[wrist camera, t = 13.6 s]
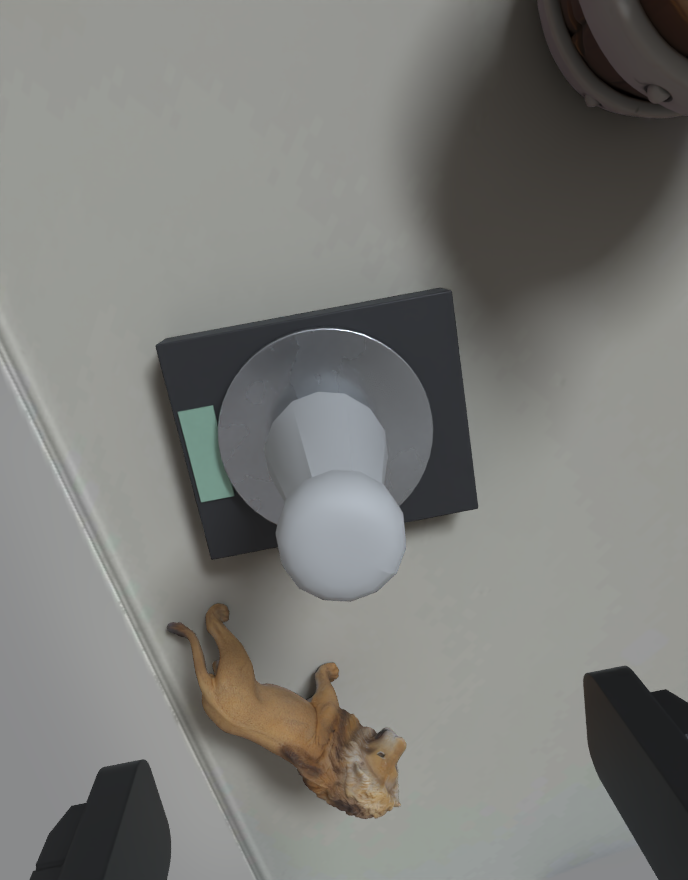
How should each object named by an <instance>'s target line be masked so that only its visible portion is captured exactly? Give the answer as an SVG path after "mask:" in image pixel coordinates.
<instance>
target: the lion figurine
mask: <svg viewBox="0 0 688 880" xmlns="http://www.w3.org/2000/svg"><path fill="white" fill-rule="evenodd" d="M205 618H206V627H207V631H208V632H209V633H210V634H211V635H212V636H213V638H214V639H215V641H216V643H217V646H218V649H219V653H220V659H219V660H216V661H214V662H213V664H212V667H213V671H214V675H213V674H209V673H208V672H207V669H206V664H205V659H204V655H203V652H202V648H201V645H200V643H199V640H198V638H197V636H196V634H195V633H194V632H193V631H192V630H190V629H189V628H188V627H186V626H185V625H184V624H182V623H181V622H178V623H175V622H172V623H169V624H168V626H167V630H168V631H169V632H171V633H174V634H177V635H179V636H181V637H185V638H187V639H188V640H189V641H190V644H191V648H192V653H193V660H194V667H195V672H196V676H197V679H198V683H199V686H200V689H201V692H202V705H203V708H204V711H205V712H206V714H207V715H208V716H209V718H210V719H211V720H212V721H213V722H214V723H215V724H216V725H217V726H218V727H219V728H220V729H221V730H223V731H224V732H226V733H229V734H233V735H236V736H240V737H243V738H246V739H248V740H251V741H253V742H255V743H257V744H259V745H260V746H262V747H264V748H265V749H267V750H269V751H270V752H272V753H274V754H276V755H278V756H280V757H282V758H283V759H285V760H287V761H288V762H290V763H291V764H293V765H294V766H295V767H296V768H297V770H298V772H299V774H300V775H301V776H302V777H303V781H304V783H305V785H306V786H307V787H308V788H309V789H310V790H312V791H313V792H315V793H316V795H317V797H318V798H321V799H323V800H325V801H326V802H327V803H328V804H329V805H332V806H333V807H337V808H338V809H339V810H341V811H345V812H346V814H348V815H351V816H352V815H355V816H356V817H359V818H362V819H368V818H372V817H374V818H378V817H381V816H383V815H385V814H386V812H387V811H391V810H392V808H393V807H399V806H401V804H400V803H399V798H398V793H399V785H398V768H397V762H398V760H399V758H400V757H401V755H402V754H403V752H404V751H405V749H406V742H405V740H404V739H403V738H402V737H399V736H398V735H397V734H396V733H395V732H394V731H393V730H392V729H390V728H388V727H386V728H383V729H382V730H381V731H380V732H379V733H376V732H375V730H374V729H372V728H370V727H363V726H362V725H361V724H360V723H359V720H358V719H357V718H356V717H355V715H354V714H350V713H348V712H347V711H346V710H344V709H341V708H340V707H339V703H338V699H337V696H336V693H335V690H334V688H333V686H332V685H331V683H330V682H332V681H334V679H337V678H338V672H339V669H338V668H337V666H336V664H335V663H326V664H324V665H321V666H320V667H319V669H318V670H317V672H316V673H315V683H316V686H317V690H316V693H315V694H314V695H313V697H311V698H309V699H307V700H305V699H304V698H302V697H301V696H299V695H297V694H296V693H294V692H292V691H290V690H288V689H285V688H283V687H280V686H278V685H274V684H267V683H266V684H260V683H258V682H257V681H256V679H255V675H254V670H253V666H252V663H251V660H250V658H249V656H248V654H247V652H246V651H245V649H244V647H243V645H242V644H241V643H240V642H239V640H238V639H237V638H236V637H235V636H234V635H233V634H232V633H231V632H230V631H229V630H228V629H227V628H226V627H225V626H224V624H223V622H226V621H228V620H229V610H228V608H227V606H225V605H224V604H219V603H218V604H215V605H213V606H211V607H210V608H209V610H208V612H207V613H206V617H205Z"/></svg>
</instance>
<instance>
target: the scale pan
mask: <svg viewBox="0 0 688 880" xmlns="http://www.w3.org/2000/svg"><path fill="white" fill-rule="evenodd" d="M316 392H329V393H344V394H346V395H348V396H350V397H352V398H353V399H355V400H357V401H358V402H360V403H362V404H364V405H365V406H367V407H369V408H370V409H371V411H372V412H373V414H374V415H375V417H376V418H377V420H378V421H379V423H380V424H381V426H382V427H383V429H384V430H385V436H386V444H387V453H388V460H387V467H386V474H385V481H384V486H385V487H386V488H387V490H388V491H389V493H390V494H391V496H392V497H393V498H394V500H395V501H396V503H397V504H398V505H399V506H400V505H401V504H402V503H403V502H404V501H405V500H406V499H407V498H408V497H409V495H410V494H411V493H412V492H413V490H414V489H415V487H416V486H417V484H418V483H419V481H420V480H421V477H422V475H423V473H424V471H425V469H426V467H427V464H428V461H429V458H430V454H431V449H432V444H433V417H432V412H431V407H430V403H429V400H428V397H427V394H426V391H425V389H424V387H423V385H422V383H421V381H420V380H419V378H418V376H417V375H416V374H415V372H414V371H413V369H412V368H411V367H410V365H409V364H408V363H407V362H406V361H405V360H404V359H403V358H402V357H401V356H400V355H399V354H398V353H397V352H395V351H394V350H393V349H392V348H390V347H389V346H388V345H386V344H385V343H383V342H381V341H380V340H378V339H376V338H374V337H372V336H370V335H367V334H365V333H363V332H359V331H356V330H352V329H348V328H341V327H329V326H320V327H311V328H305V329H301V330H297V331H293V332H290V333H288V334H285V335H283V336H280V337H278V338H276V339H274V340H273V341H271V342H269V343H267V344H266V345H264V346H263V347H262V348H260V349H259V350H258V351H256V352H255V353H254V354H253V355H252V356H251V357H250V358H249V359H248V360H247V361H246V362H245V363H244V364H243V365H242V367H241V368H240V369H239V371H238V372H237V373H236V375H235V377H234V378H233V380H232V382H231V384H230V385H229V387H228V389H227V392H226V394H225V397H224V399H223V402H222V406H221V410H220V414H219V421H218V446H219V451H220V457H221V460H222V463H223V466H224V469H225V472H226V474H227V476H228V478H229V480H230V482H231V484H232V485H233V487H234V488H235V490H236V491H237V493H238V494H239V495H240V496H241V498H242V499H243V500H244V501H245V502H246V503H247V504H248V505H249V506H250V507H251V508H252V509H253V510H254V511H256V512H257V513H258V514H260V515H261V516H262V517H264V518H265V519H267V520H269V521H270V522H272V523H274V524H276V525H278V522H279V519H280V516H281V513H282V510H283V507H284V504H285V502H284V501H283V499H282V497H281V495H280V493H279V492H278V490H277V488H276V486H275V484H274V482H273V481H272V479H271V477H270V475H269V471H268V466H267V461H266V456H265V452H264V447H265V444H266V441H267V438H268V435H269V432H270V429H271V426H272V423H273V422H274V421H275V419H276V418H277V417H278V416H279V415H280V414H281V413H282V412H283V411H284V410H285V409H286V407H287V406H288V405H289V404H290V403H291V402H292V401H294V400H297V399H300V398H302V397H305V396H308V395H311V394H313V393H316Z"/></svg>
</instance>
